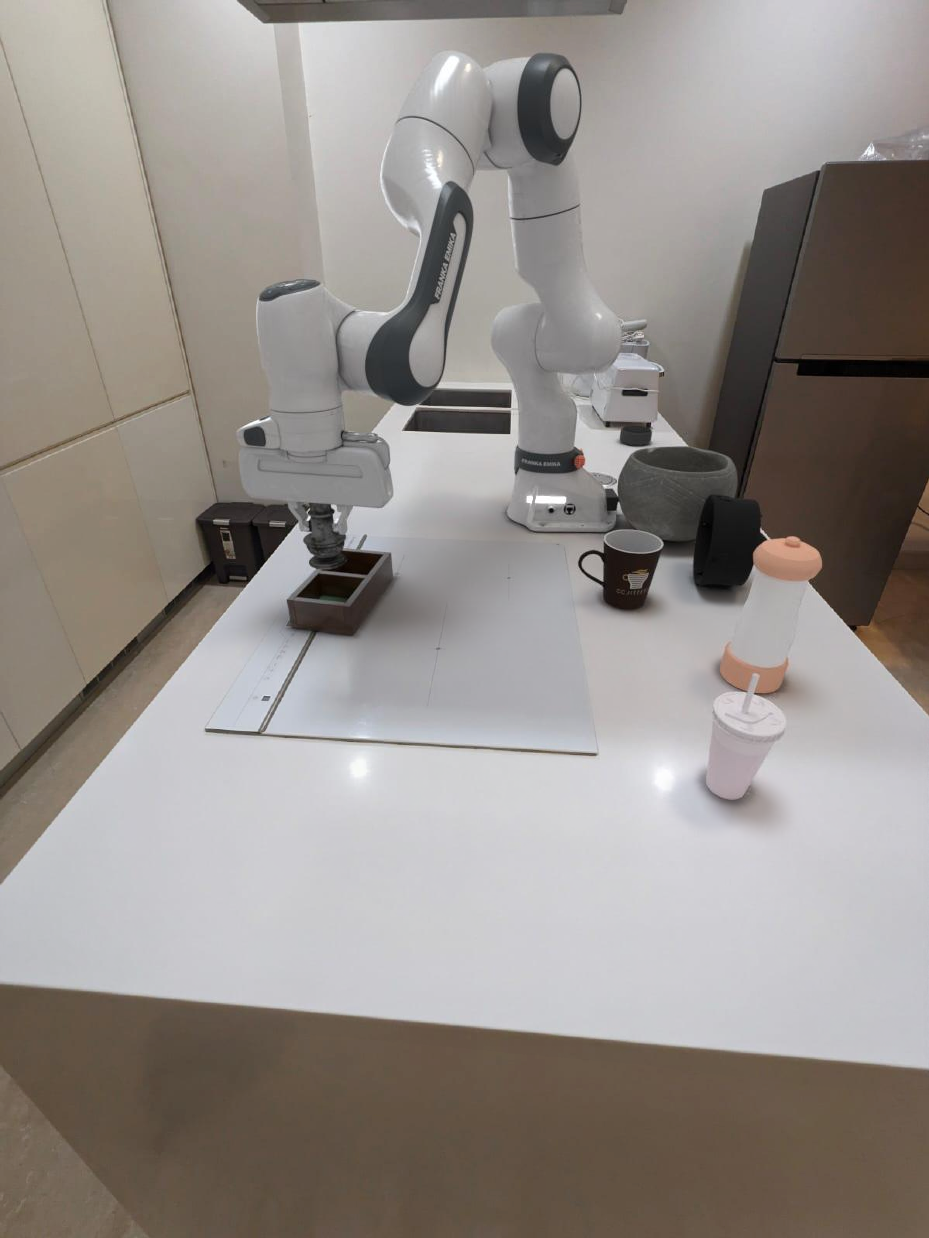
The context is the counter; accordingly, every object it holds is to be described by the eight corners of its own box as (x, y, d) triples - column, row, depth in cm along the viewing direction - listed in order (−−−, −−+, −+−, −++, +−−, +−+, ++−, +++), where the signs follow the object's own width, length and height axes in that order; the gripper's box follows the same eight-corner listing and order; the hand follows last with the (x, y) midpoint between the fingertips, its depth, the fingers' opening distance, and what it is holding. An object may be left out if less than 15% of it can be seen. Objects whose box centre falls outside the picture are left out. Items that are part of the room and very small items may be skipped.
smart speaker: (654, 441, 171) (656, 427, 169) (644, 448, 165) (647, 434, 163) (624, 437, 175) (626, 423, 173) (614, 444, 169) (616, 430, 167)
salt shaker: (339, 572, 79) (328, 487, 73) (299, 568, 80) (285, 484, 74) (354, 554, 84) (346, 473, 78) (317, 550, 85) (305, 470, 79)
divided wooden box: (393, 578, 97) (391, 552, 95) (353, 635, 82) (349, 606, 80) (340, 572, 99) (337, 547, 97) (291, 628, 84) (286, 599, 82)
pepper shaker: (776, 700, 70) (828, 557, 60) (713, 681, 73) (753, 542, 63) (784, 670, 75) (833, 533, 65) (725, 653, 79) (763, 520, 68)
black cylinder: (794, 519, 81) (719, 513, 83) (766, 608, 89) (697, 600, 91) (773, 486, 93) (707, 481, 95) (750, 567, 101) (689, 561, 103)
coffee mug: (653, 591, 93) (664, 533, 88) (650, 617, 86) (661, 557, 81) (581, 580, 97) (588, 524, 91) (572, 605, 90) (579, 545, 84)
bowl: (664, 566, 101) (681, 483, 93) (589, 525, 117) (598, 450, 109) (748, 543, 109) (770, 464, 101) (667, 507, 125) (681, 437, 117)
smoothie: (681, 764, 61) (711, 655, 54) (740, 760, 62) (777, 652, 54) (708, 812, 56) (745, 699, 48) (772, 808, 56) (818, 695, 49)
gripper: (396, 427, 74) (402, 529, 81) (250, 420, 77) (268, 517, 85) (379, 440, 68) (388, 547, 76) (223, 431, 72) (245, 534, 79)
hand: (323, 531), depth 80 cm, fingers closed on salt shaker, 3 cm apart
